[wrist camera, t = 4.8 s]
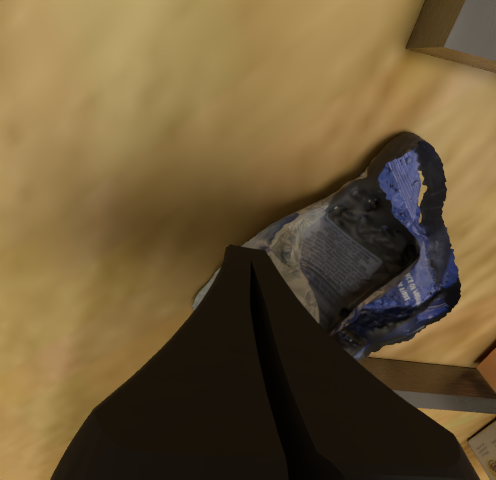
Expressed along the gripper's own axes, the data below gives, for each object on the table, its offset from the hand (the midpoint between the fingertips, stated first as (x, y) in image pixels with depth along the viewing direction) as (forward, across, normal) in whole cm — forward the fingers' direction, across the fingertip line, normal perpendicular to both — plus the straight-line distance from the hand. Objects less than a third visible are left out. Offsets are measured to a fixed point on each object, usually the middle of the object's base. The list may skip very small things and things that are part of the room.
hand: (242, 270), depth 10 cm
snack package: (+3, -4, +1) cm, 5 cm away
